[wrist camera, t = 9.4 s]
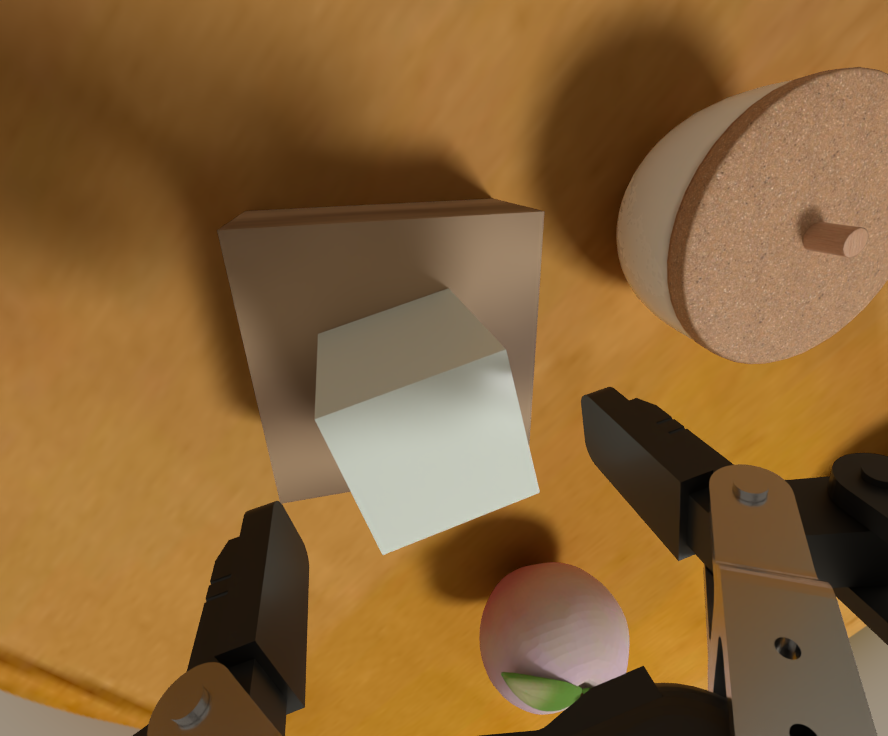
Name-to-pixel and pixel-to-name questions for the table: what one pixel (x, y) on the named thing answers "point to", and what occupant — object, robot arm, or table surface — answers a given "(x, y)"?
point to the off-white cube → (422, 418)
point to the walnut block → (369, 300)
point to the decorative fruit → (551, 636)
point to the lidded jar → (764, 216)
